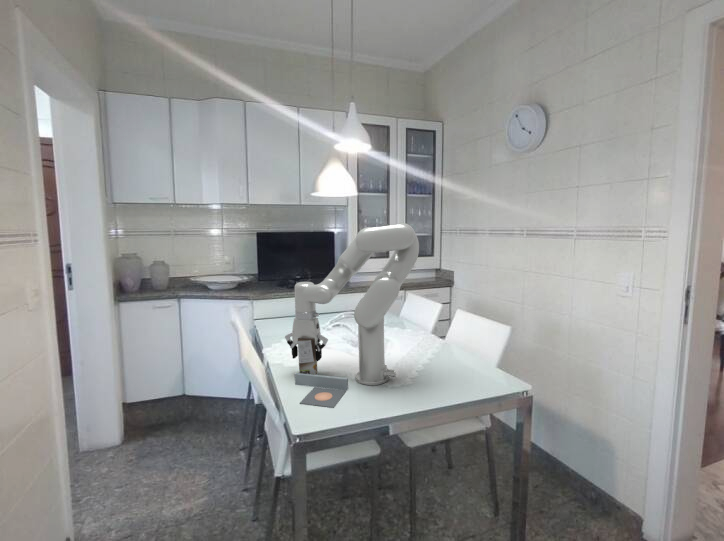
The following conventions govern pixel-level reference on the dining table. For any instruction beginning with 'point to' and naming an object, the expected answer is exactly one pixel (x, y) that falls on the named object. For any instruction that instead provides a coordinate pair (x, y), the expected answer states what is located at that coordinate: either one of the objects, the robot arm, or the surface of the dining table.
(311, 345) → the coffee box
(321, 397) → the resting mat
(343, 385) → the grey flat bar
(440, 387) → the dining table surface
